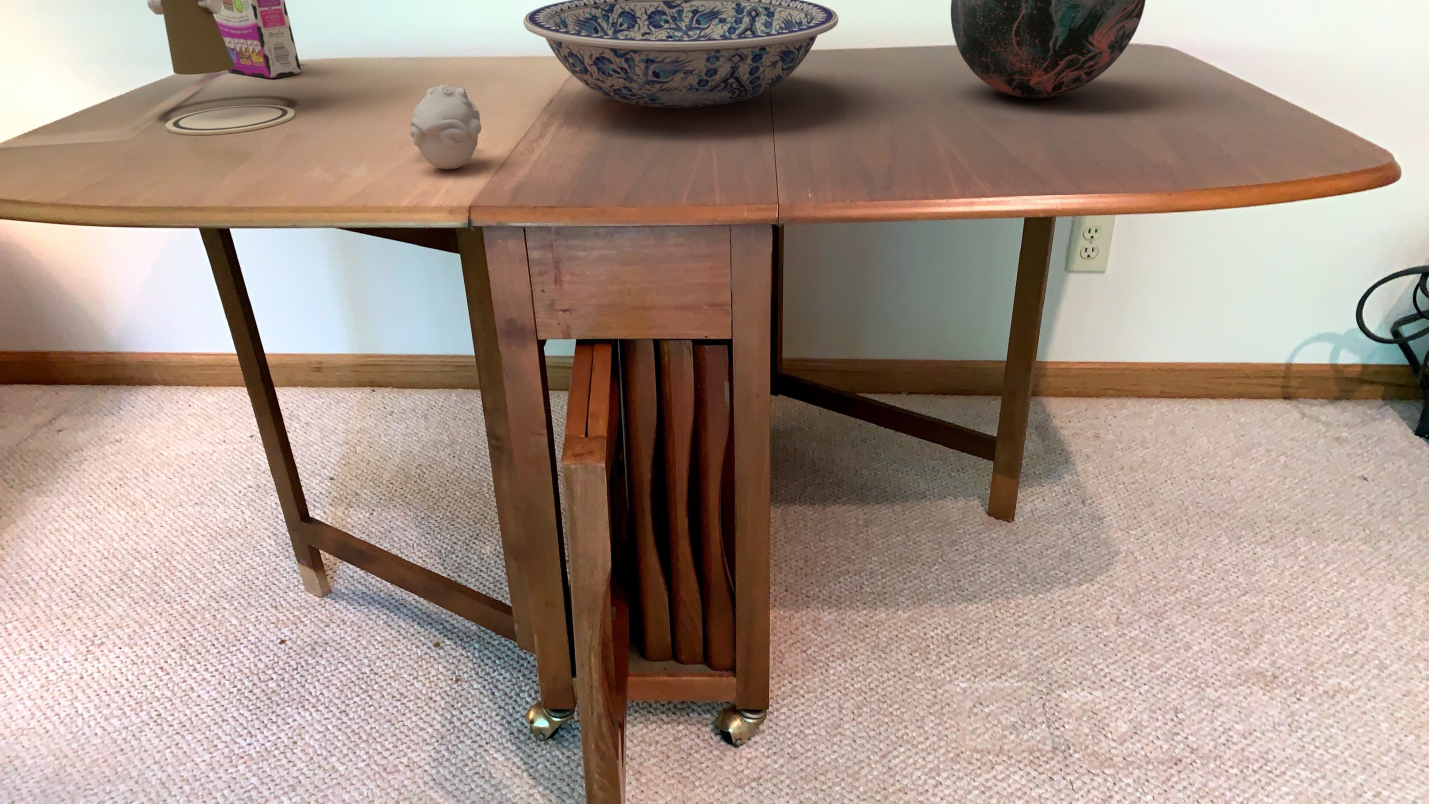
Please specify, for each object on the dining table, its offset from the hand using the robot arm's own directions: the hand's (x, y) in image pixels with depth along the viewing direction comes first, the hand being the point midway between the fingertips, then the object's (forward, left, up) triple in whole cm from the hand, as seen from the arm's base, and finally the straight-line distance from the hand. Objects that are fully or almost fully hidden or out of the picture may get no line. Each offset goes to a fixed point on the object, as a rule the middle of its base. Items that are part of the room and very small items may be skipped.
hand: (183, 10), depth 93 cm
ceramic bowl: (+52, -6, -11) cm, 53 cm away
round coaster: (+2, -1, -11) cm, 11 cm away
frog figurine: (+27, -27, -11) cm, 40 cm away
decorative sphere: (+91, -14, -11) cm, 93 cm away
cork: (0, +1, -6) cm, 6 cm away
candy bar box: (-1, +29, -11) cm, 31 cm away
